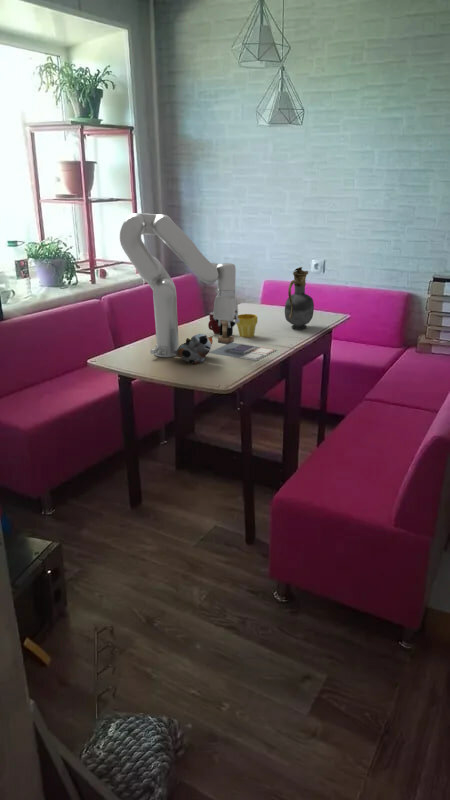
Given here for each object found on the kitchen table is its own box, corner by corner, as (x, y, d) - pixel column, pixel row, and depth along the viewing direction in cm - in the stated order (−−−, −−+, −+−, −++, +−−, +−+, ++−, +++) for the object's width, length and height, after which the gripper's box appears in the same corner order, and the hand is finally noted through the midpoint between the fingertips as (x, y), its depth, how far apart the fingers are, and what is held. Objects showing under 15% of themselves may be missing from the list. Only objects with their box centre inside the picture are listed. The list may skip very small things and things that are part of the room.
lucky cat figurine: (187, 353, 256) (201, 325, 252) (207, 368, 252) (223, 340, 248) (168, 353, 243) (183, 323, 239) (189, 368, 239) (205, 338, 235)
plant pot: (231, 338, 279) (231, 317, 275) (241, 332, 287) (241, 312, 284) (251, 340, 274) (251, 319, 270) (261, 334, 283) (261, 314, 279)
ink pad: (244, 354, 251) (244, 351, 250) (230, 352, 254) (230, 349, 254) (255, 349, 258) (255, 346, 257) (241, 347, 261) (241, 343, 261)
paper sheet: (255, 360, 243) (255, 359, 243) (239, 357, 248) (239, 356, 247) (276, 349, 256) (276, 349, 256) (260, 347, 261) (260, 346, 260)
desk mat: (255, 362, 243) (255, 360, 243) (208, 353, 256) (208, 352, 256) (277, 351, 257) (277, 349, 257) (231, 343, 270) (231, 342, 269)
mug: (217, 337, 280) (217, 316, 276) (203, 335, 284) (203, 315, 281) (229, 332, 288) (229, 312, 285) (216, 330, 292) (215, 310, 289)
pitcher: (315, 325, 296) (317, 264, 285) (298, 334, 281) (300, 270, 271) (296, 323, 302) (297, 263, 291) (278, 331, 287) (278, 269, 276)
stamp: (227, 344, 256) (227, 319, 252) (217, 342, 258) (218, 317, 254) (233, 341, 260) (234, 317, 256) (224, 340, 262) (224, 315, 258)
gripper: (205, 292, 253) (205, 334, 259) (237, 297, 244) (237, 340, 251) (215, 289, 258) (215, 330, 265) (247, 294, 250) (246, 336, 256)
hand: (225, 335), depth 258 cm, fingers closed on stamp, 3 cm apart
